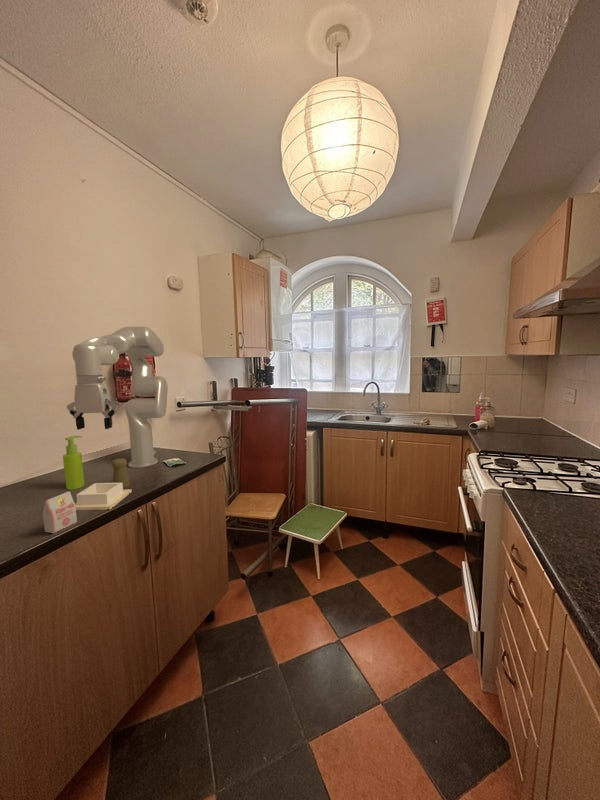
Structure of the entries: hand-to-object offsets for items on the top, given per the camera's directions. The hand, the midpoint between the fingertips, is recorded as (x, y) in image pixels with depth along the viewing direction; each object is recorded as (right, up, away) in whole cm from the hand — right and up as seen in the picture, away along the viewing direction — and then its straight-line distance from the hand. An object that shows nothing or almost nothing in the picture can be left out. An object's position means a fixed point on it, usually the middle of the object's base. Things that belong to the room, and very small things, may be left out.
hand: (94, 428), depth 111 cm
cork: (+2, -24, +13) cm, 27 cm away
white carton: (+2, -28, -18) cm, 33 cm away
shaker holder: (+2, -26, 0) cm, 26 cm away
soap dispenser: (-16, -24, +13) cm, 32 cm away
